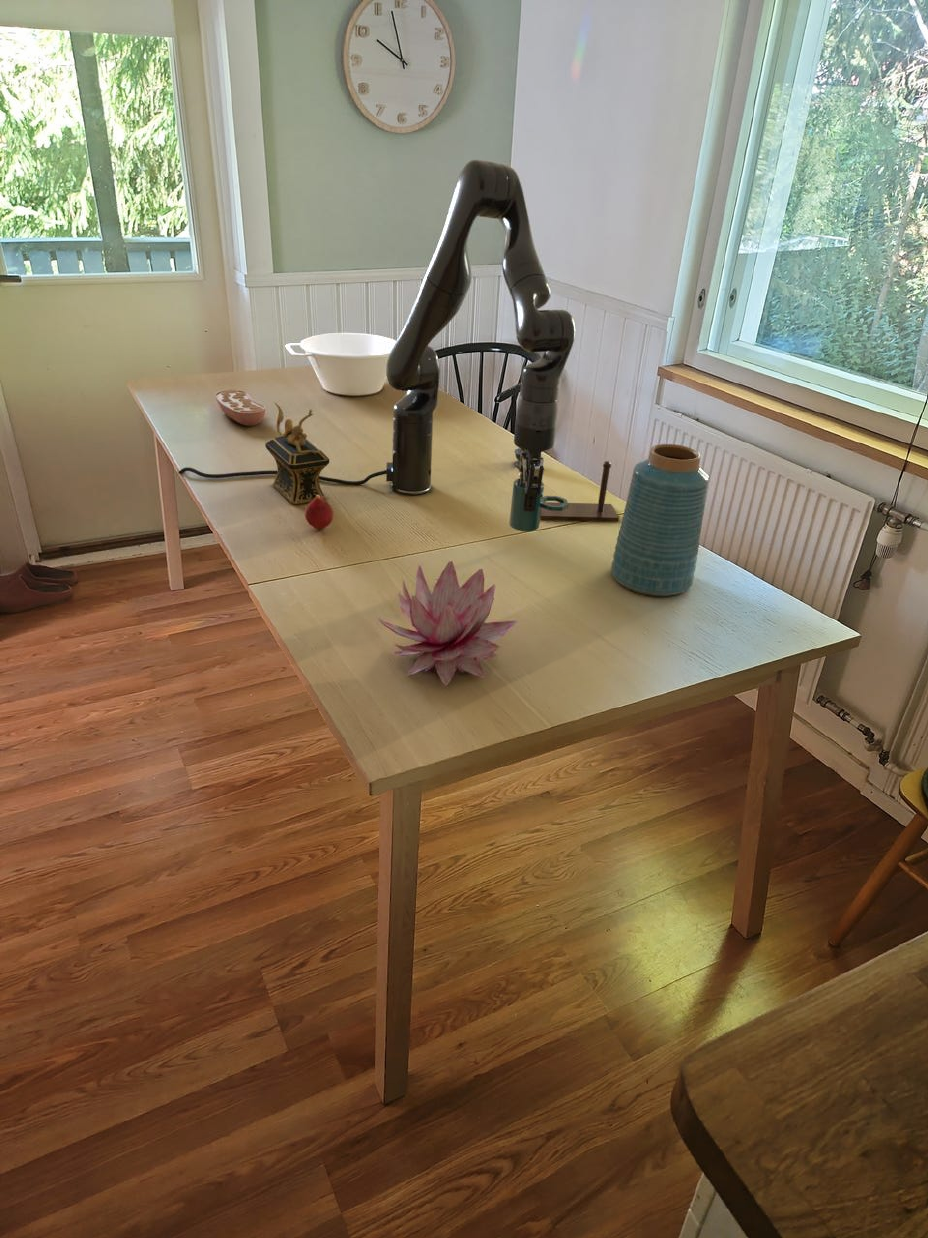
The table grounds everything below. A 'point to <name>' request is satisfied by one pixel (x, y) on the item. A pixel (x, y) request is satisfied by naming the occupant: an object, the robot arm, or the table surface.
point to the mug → (530, 518)
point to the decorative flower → (450, 624)
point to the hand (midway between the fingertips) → (526, 503)
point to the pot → (348, 361)
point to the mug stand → (585, 506)
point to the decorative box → (296, 462)
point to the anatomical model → (240, 407)
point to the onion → (319, 513)
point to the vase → (662, 523)
